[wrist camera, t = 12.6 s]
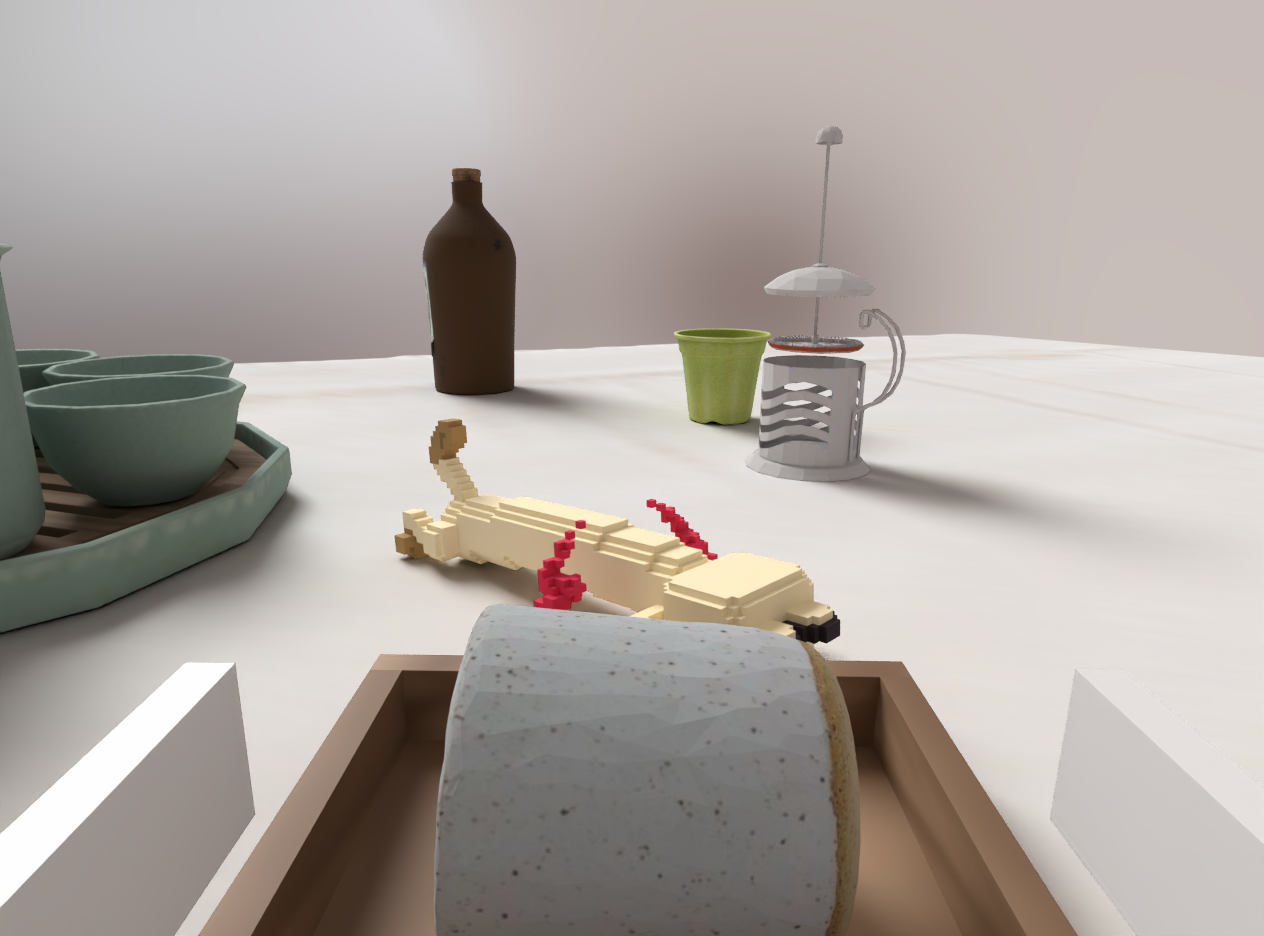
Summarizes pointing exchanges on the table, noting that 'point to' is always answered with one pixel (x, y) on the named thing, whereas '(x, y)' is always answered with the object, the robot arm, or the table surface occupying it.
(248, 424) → the tea set
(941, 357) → the table surface
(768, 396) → the french press
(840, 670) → the tray
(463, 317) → the olive oil
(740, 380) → the plant pot
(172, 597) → the table surface
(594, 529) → the cat figure
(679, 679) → the ceramic mug
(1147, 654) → the table surface
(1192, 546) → the table surface
